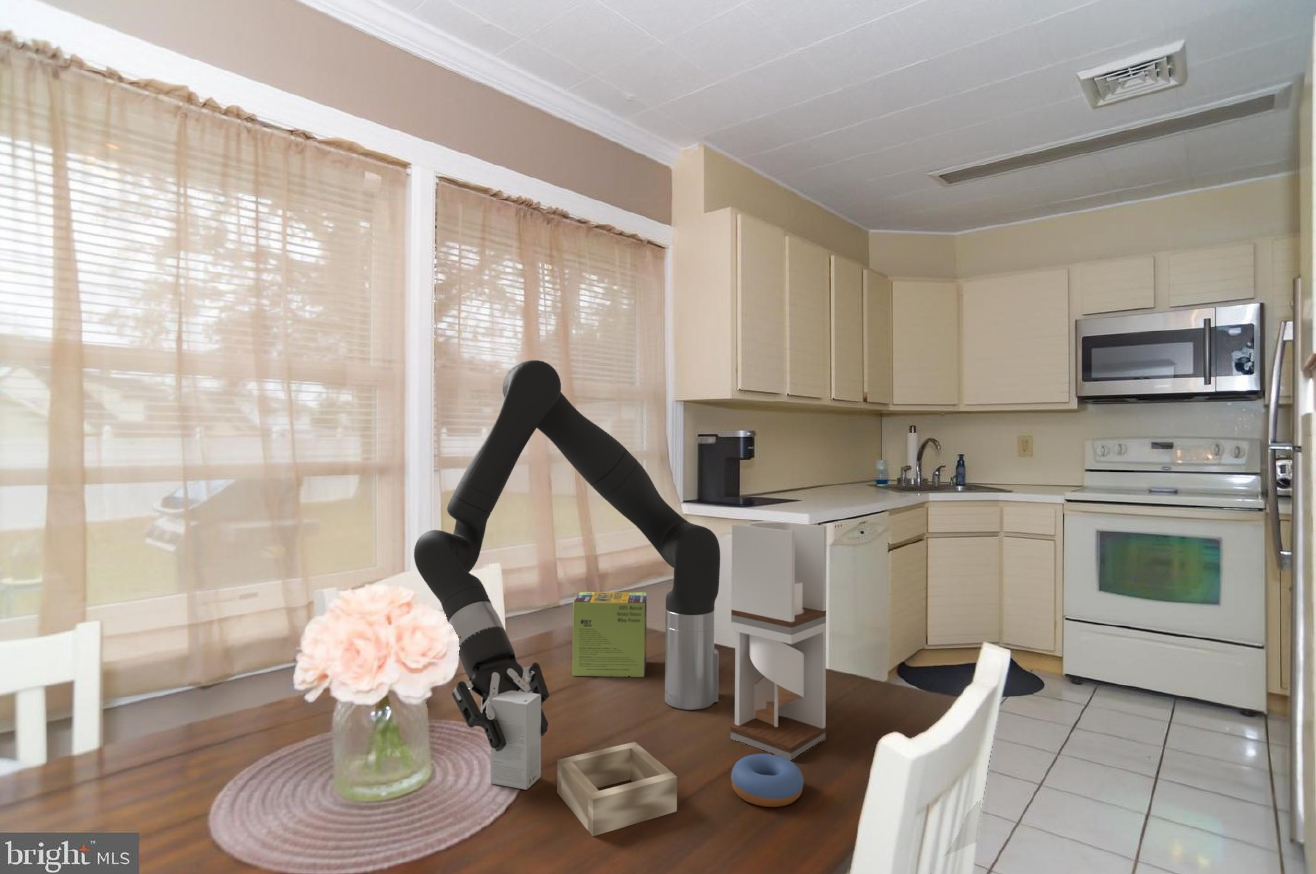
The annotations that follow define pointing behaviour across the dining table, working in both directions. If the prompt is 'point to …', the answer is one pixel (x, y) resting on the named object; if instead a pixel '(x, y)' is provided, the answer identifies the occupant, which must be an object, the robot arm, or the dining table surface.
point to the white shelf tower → (779, 635)
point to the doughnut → (767, 780)
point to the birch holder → (622, 803)
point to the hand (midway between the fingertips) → (522, 740)
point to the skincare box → (517, 740)
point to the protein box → (609, 634)
